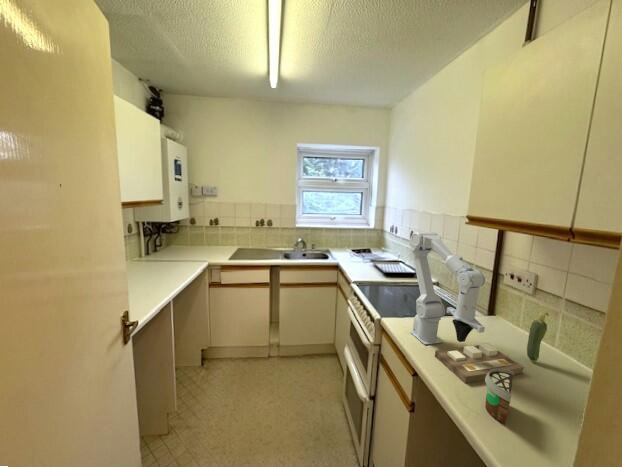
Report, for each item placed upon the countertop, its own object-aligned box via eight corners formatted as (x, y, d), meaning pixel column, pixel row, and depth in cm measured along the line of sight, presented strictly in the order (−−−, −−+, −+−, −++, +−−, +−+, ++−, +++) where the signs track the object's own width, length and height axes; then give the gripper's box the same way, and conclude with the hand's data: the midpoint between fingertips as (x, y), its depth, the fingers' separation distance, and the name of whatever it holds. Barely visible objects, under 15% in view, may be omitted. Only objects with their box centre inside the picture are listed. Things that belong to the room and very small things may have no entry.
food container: (483, 391, 83) (489, 361, 82) (508, 401, 80) (514, 371, 78) (477, 415, 74) (483, 383, 72) (504, 429, 70) (511, 395, 68)
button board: (434, 356, 99) (435, 349, 99) (486, 349, 106) (487, 343, 105) (465, 383, 86) (466, 375, 86) (522, 373, 92) (523, 366, 92)
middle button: (463, 352, 99) (464, 346, 99) (472, 351, 100) (473, 345, 100) (472, 359, 96) (473, 353, 95) (481, 358, 97) (482, 352, 96)
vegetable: (521, 358, 101) (531, 308, 98) (528, 356, 103) (539, 306, 99) (534, 365, 97) (545, 313, 94) (542, 363, 99) (553, 312, 95)
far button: (478, 350, 101) (479, 344, 101) (487, 349, 102) (488, 343, 102) (487, 357, 97) (489, 351, 97) (496, 356, 98) (497, 350, 98)
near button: (446, 357, 98) (447, 351, 97) (455, 356, 99) (456, 350, 98) (455, 364, 94) (456, 358, 94) (464, 363, 95) (465, 357, 95)
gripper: (441, 296, 99) (436, 330, 101) (474, 315, 85) (467, 354, 87) (457, 295, 101) (452, 329, 103) (492, 313, 87) (485, 352, 89)
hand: (460, 340), depth 95 cm, fingers closed
